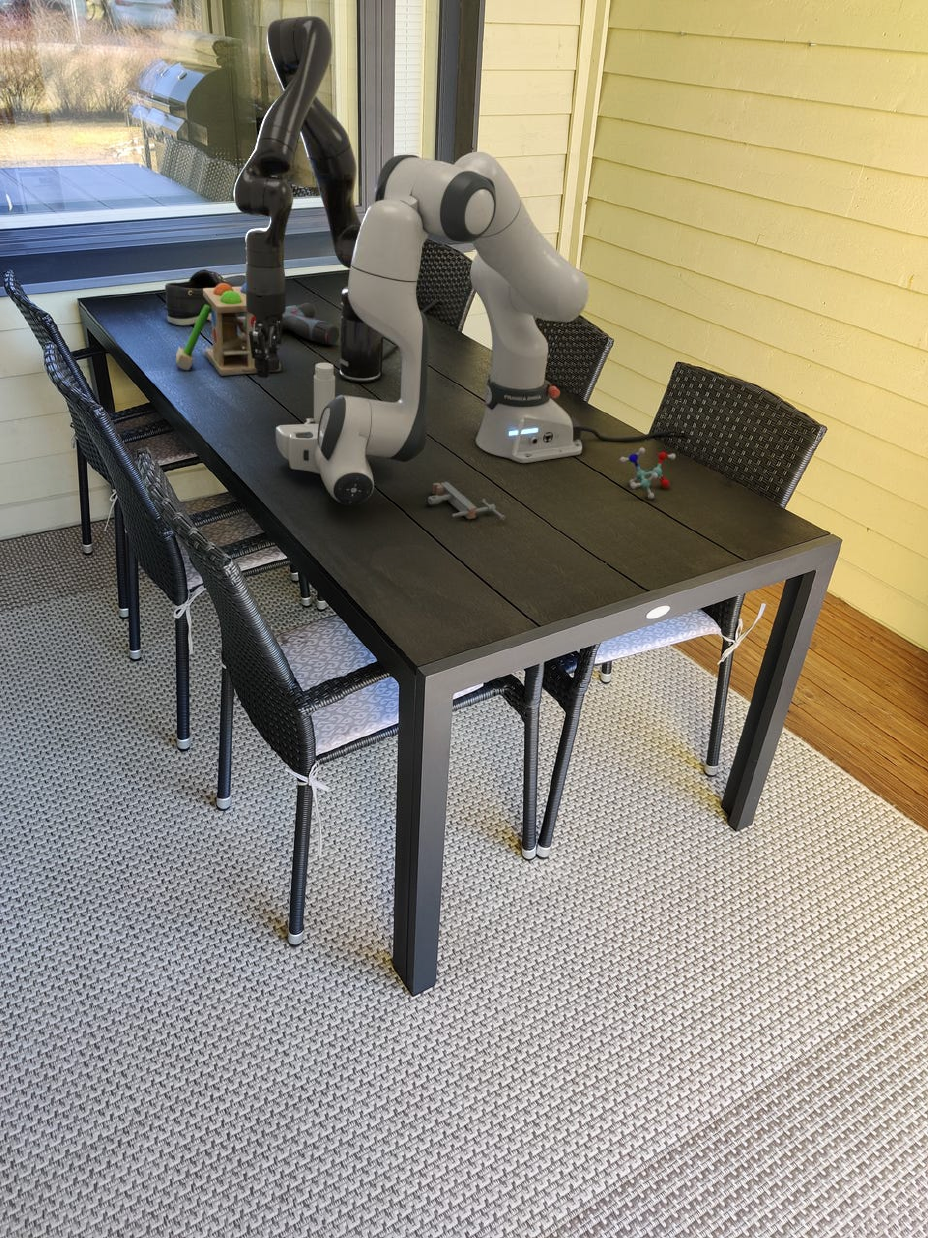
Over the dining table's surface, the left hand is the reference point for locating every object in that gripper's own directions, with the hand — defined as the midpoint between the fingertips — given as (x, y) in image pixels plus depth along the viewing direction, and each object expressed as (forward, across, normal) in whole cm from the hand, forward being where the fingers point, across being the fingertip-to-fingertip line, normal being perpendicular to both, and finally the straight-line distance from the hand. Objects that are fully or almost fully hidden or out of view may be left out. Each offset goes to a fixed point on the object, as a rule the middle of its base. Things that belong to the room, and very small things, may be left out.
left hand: (267, 372), depth 198 cm
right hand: (+5, +9, +14) cm, 17 cm away
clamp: (+11, +25, +45) cm, 52 cm away
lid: (-3, 0, 0) cm, 3 cm away
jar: (+11, +10, +15) cm, 21 cm away
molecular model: (+11, +5, +78) cm, 79 cm away
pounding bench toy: (+11, -30, -20) cm, 37 cm away
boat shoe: (+11, -67, -38) cm, 78 cm away
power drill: (+11, -59, -8) cm, 60 cm away
